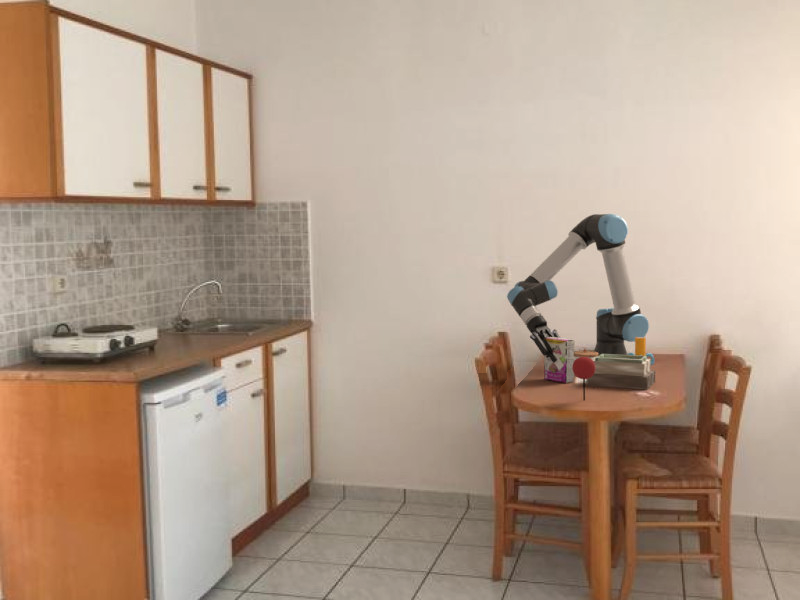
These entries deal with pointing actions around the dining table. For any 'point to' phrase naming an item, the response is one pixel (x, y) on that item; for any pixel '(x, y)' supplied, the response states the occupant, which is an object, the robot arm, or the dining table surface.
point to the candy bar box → (565, 354)
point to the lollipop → (583, 369)
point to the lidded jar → (585, 354)
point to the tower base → (622, 381)
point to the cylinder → (641, 348)
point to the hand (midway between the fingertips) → (566, 366)
